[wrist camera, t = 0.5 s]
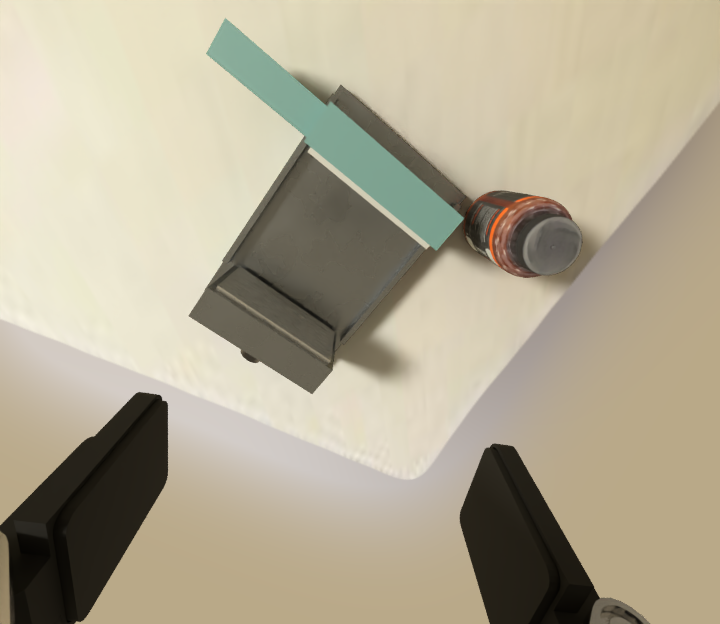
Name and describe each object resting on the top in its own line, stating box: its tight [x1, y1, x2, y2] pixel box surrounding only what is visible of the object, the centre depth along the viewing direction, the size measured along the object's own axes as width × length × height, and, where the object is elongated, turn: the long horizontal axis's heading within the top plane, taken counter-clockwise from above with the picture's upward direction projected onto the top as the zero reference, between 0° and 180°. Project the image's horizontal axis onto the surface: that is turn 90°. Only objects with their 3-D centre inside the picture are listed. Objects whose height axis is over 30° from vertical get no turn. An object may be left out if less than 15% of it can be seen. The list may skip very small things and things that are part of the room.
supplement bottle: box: [463, 191, 582, 278], centre depth 30 cm, size 6×6×11 cm
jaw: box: [206, 18, 464, 251], centre depth 28 cm, size 3×20×7 cm, turn 52°
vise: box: [189, 85, 466, 394], centre depth 32 cm, size 23×14×8 cm, turn 142°
